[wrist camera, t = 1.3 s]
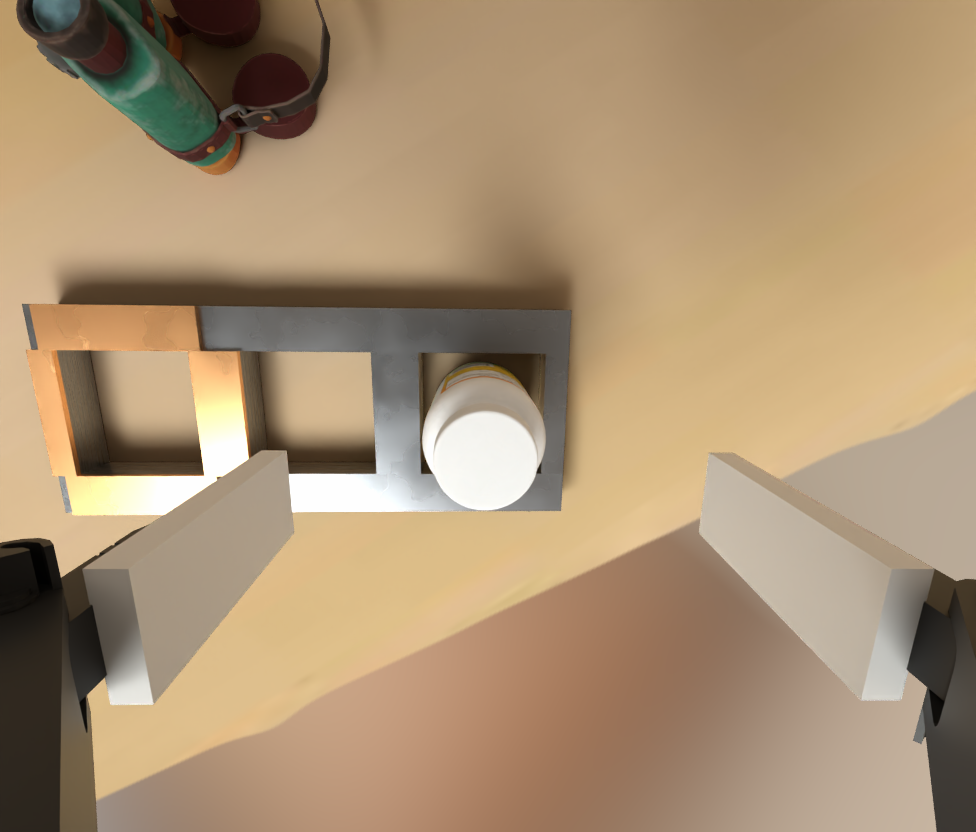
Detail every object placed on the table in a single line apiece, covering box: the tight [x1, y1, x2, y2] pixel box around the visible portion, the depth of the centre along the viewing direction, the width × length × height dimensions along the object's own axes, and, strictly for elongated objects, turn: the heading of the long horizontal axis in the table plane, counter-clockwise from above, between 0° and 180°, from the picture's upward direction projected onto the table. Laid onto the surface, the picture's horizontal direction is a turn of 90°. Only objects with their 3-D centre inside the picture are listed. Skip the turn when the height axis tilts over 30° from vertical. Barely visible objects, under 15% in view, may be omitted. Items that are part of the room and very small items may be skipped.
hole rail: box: [22, 304, 571, 515], centre depth 25 cm, size 27×11×2 cm, turn 89°
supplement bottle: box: [422, 362, 546, 510], centre depth 22 cm, size 5×5×10 cm
